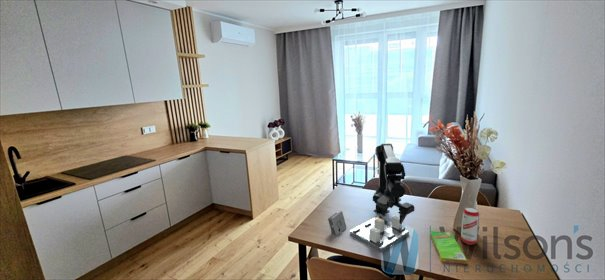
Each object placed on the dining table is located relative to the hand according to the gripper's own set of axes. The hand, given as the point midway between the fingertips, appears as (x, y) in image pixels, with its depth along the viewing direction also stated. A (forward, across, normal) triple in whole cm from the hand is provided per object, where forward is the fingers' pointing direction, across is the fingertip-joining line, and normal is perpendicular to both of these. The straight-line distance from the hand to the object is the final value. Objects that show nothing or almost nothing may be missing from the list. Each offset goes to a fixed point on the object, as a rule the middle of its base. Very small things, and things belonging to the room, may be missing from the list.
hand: (392, 219), depth 125 cm
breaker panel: (+11, -8, 0) cm, 13 cm away
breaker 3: (+9, -4, +9) cm, 13 cm away
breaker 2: (+9, -3, -8) cm, 12 cm away
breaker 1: (+9, -7, 0) cm, 11 cm away
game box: (+12, +18, +15) cm, 26 cm away
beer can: (+11, +22, +27) cm, 37 cm away
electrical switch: (+11, -23, -13) cm, 29 cm away
